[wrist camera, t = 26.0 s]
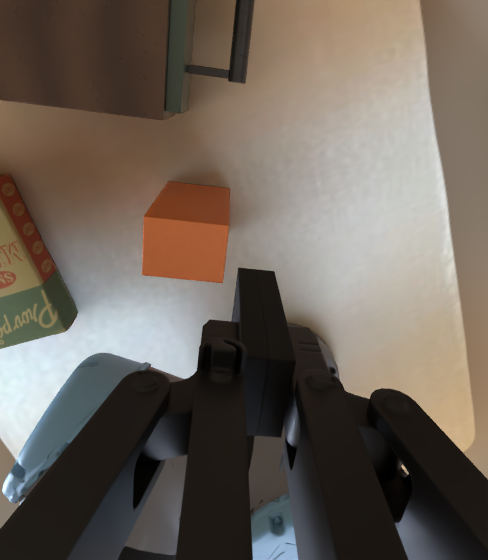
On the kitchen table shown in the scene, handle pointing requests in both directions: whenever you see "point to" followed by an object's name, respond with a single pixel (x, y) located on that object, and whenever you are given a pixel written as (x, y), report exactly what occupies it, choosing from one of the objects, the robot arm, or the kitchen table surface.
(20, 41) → the cabinet
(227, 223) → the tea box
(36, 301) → the carton
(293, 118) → the kitchen table surface
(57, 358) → the kitchen table surface
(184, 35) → the drawer
